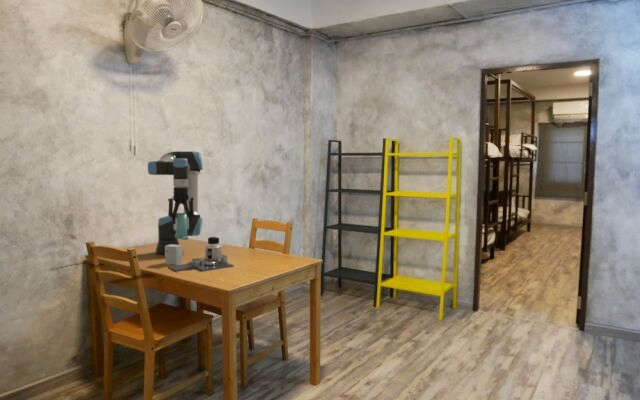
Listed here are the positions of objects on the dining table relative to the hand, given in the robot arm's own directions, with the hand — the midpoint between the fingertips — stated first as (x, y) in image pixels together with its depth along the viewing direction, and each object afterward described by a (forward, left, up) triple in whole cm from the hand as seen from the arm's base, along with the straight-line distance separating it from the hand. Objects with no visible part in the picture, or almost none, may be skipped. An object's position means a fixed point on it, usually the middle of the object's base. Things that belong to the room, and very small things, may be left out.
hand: (181, 229), depth 248 cm
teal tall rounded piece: (0, 0, -5) cm, 5 cm away
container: (-11, +25, -22) cm, 35 cm away
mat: (0, 0, -22) cm, 22 cm away
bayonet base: (+4, +15, -22) cm, 27 cm away
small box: (-13, +1, -22) cm, 25 cm away
